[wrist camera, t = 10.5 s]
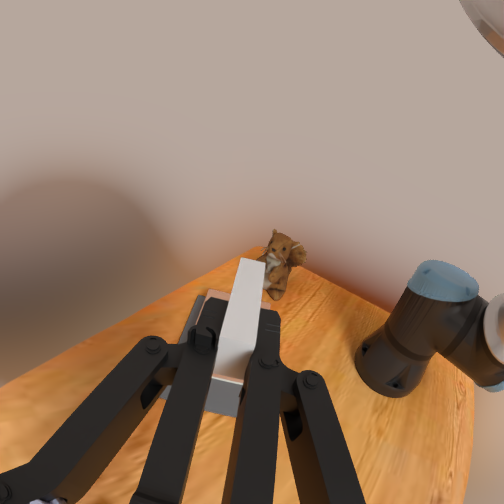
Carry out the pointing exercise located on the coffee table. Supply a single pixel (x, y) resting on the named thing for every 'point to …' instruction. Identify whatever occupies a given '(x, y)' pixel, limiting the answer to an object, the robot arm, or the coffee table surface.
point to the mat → (220, 392)
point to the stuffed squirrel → (280, 263)
